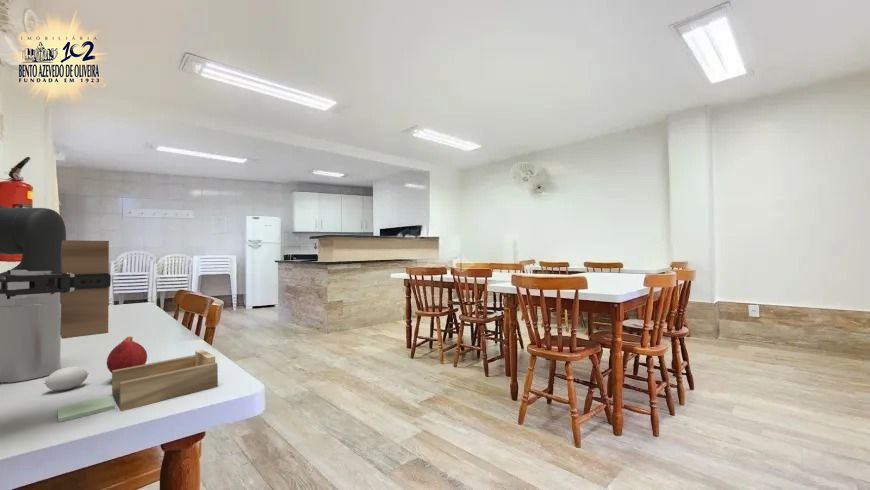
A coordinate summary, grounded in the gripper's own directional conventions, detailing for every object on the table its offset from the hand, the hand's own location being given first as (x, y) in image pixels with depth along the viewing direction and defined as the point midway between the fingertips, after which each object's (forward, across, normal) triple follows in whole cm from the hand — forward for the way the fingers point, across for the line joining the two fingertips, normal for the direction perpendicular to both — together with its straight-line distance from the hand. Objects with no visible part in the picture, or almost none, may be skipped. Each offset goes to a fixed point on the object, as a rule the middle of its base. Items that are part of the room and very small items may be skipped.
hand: (107, 279), depth 58 cm
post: (-3, 0, +8) cm, 8 cm away
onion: (+4, +13, +20) cm, 24 cm away
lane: (+8, 0, +19) cm, 21 cm away
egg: (-4, +15, +20) cm, 25 cm away
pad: (-2, 0, +20) cm, 20 cm away
